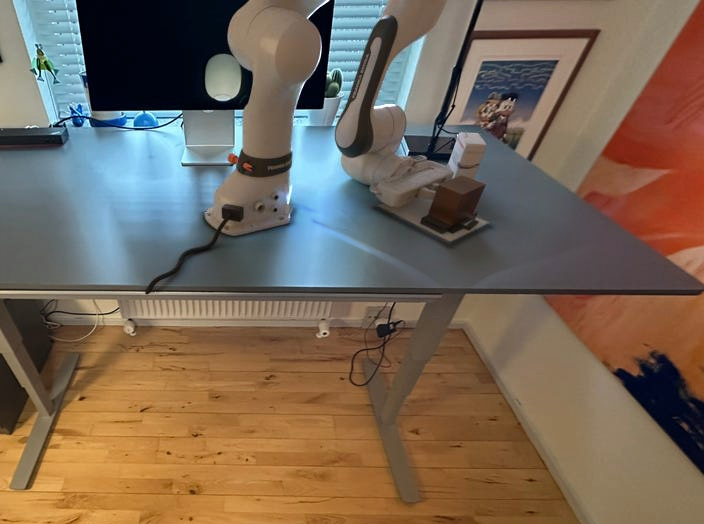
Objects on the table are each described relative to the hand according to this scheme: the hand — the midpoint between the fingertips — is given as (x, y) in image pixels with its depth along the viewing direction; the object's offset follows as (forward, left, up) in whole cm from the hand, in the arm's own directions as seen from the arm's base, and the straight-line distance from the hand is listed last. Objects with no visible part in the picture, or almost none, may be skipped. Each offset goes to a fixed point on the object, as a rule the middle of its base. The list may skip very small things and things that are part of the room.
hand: (443, 197), depth 93 cm
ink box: (+19, +8, -6) cm, 21 cm away
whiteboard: (0, +2, -6) cm, 6 cm away
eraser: (0, -3, -5) cm, 5 cm away
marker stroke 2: (+2, -8, -5) cm, 9 cm away
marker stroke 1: (-2, -7, -5) cm, 8 cm away
